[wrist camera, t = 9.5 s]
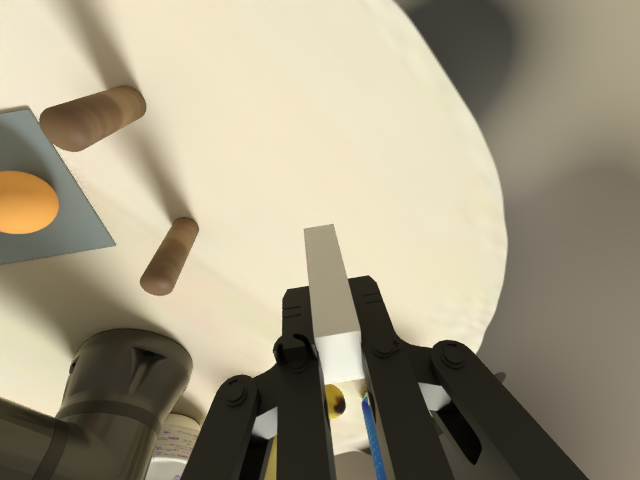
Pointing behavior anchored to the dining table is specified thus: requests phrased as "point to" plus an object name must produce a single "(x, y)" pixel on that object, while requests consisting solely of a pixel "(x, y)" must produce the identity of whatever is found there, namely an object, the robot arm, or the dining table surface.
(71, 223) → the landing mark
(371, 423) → the beer can
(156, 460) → the paper bowls
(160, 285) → the post
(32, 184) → the ball
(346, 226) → the dining table surface
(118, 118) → the post
